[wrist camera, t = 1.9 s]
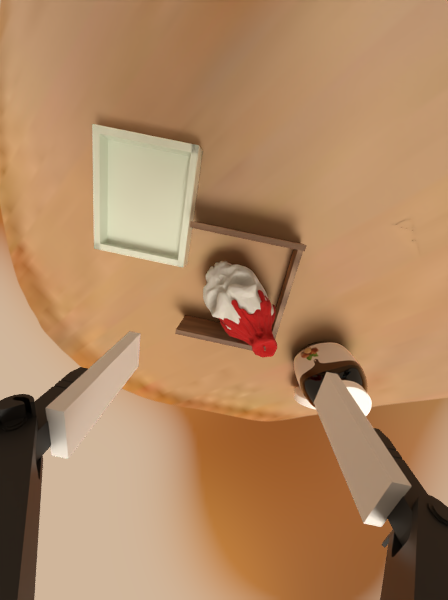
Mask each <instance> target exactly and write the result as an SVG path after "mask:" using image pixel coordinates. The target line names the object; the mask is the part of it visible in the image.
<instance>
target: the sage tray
mask: <svg viewBox="0 0 448 600" xmlns="http://www.w3.org/2000/svg"><path fill="white" fill-rule="evenodd" d="M92 140H93V208H94V249H99V250H103V251H108V252H113V253H117V254H122V255H127V256H131V257H136V258H141V259H146V260H150V261H155V262H160V263H164V264H169V265H174V266H178V267H185V266H186V265H187V263H188V256H189V248H190V241H191V234H192V228H191V227H190V221H193V219H194V212H195V204H196V197H197V190H198V182H199V175H200V168H201V161H202V153H203V152H202V150H201V148H200V146H199V145H195V144H190V143H185V142H180V141H175V140H170V139H165V138H160V137H155V136H150V135H145V134H141V133H136V132H131V131H126V130H121V129H116V128H111V127H106V126H101V125H96V124H92Z"/></svg>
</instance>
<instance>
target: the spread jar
mask: <svg viewBox="0 0 448 600" xmlns="http://www.w3.org/2000/svg"><path fill="white" fill-rule="evenodd" d="M294 371H295V375H296V378H297V381H298V383H299V386H298V387H296V388H295V389H294V399H295V400H296V401H297V402H298V403H299V404H301V405H303V406H305V407H308V408H312V409H316V407H315V405H314V400H315V398H316V396H317V393H318V391H319V389H320V386H321V384H322V381H323V379H324V377H325V374H326V372H330V373H334V374H338V376H339V377H340V379H341V380H342V382H343V383H344V385H345V386H346V388H347V389H348V391H349V392H350V394H351V395H352V397H353V398H354V400H355V401H356V403H357V404H358V406H359V407H360V409H361V410H362V412H363V413H364V415H365V416H366V415H367V414H368V413H369V412H370V409H371V405H372V402H371V399H370V396H369V395H368V394H367V380H366V376H365V374H364V371H363V369H362V368H361V366H360V364H359V363H358V362H357V360H356V359H355V358H354V357H353V355H352V354H351V353H350V352H349V351H348V350H347V349H346V348H345V347H344V346H342V345H340V344H338V343H334V342H316V343H312V344H310V345H308V346H306V347H304V348H303V349H302V350H301V351H299V352H298V354H297V355H296V356H295V358H294Z"/></svg>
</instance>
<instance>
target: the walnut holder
mask: <svg viewBox="0 0 448 600" xmlns="http://www.w3.org/2000/svg"><path fill="white" fill-rule="evenodd" d="M190 227H191V228H196V229H200V230H205V231H210V232H215V233H220V234H224V235H229V236H234V237H239V238H243V239H248V240H253V241H258V242H262V243H267V244H272V245H277V246H281V247H286V248H291V249H294V250H293V254H292V257H291V260H290V264H289V267H288V270H287V274H286V277H285V280H284V283H283V287H282V290H281V293H280V297H279V300H278V303H277V307H276V310H275V311H276V314H275V319H274V322H273V324H272V334H273V336H274V338H276V334H277V331H278V328H279V325H280V322H281V319H282V316H283V312H284V309H285V306H286V303H287V300H288V297H289V294H290V291H291V287H292V284H293V281H294V278H295V275H296V272H297V269H298V265H299V262H300V259H301V256H302V253H303V251H305V249H306V245H304V244H301V243H296V242H291V241H286V240H282V239H277V238H272V237H267V236H262V235H258V234H253V233H248V232H243V231H239V230H234V229H229V228H224V227H219V226H215V225H210V224H205V223H200V222H193V221H190ZM176 334H179V335H183V336H188V337H193V338H197V339H202V340H206V341H211V342H215V343H220V344H225V345H229V346H234V347H238V348H243V349H247V350H252V346H250V345H249V344H248V343H246V342H245V341H243V340H240V339H237V338H234V337H231V336H229V335H228V334H227V333H226V332H225V329H224V328H223V327H222V325H221V323H220V322H215V321H211V320H206V319H202V318H197V317H192V316H188V315H185V317H184V318H183V320H182V321H181V323H180V324H179V326H178V327H177V329H176ZM252 351H253V350H252Z"/></svg>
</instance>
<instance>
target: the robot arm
mask: <svg viewBox="0 0 448 600" xmlns="http://www.w3.org/2000/svg"><path fill="white" fill-rule="evenodd" d="M139 349H140V333H136V332H131V331H129V332H128V333H127V334H126V335H125V336H124V337H123V338H122V339H121V340H120V341H118V342H117V343H116V344H115V345H114V346H113V347H112V348H111V349H110V350H109V351H107V352H106V353H105V354H104V355H103V356H102V357H101V358H100V359H99V360H98V361H96V362H95V363H94V364H93V365H92V366H91V367H90V368H89V369H87V368H82V367H80V368H78V369H76V370H74V371H72V372H70V373H69V374H67V375H66V376H65V377H64V378H63V379H62V380H61V381H59V382H58V383H57V384H55V386H54V387H52V388H51V389H49V390H48V391H47V392H46V393H45V394H43V395H42V396H41V397H40V398H39V399H37V400H36V401H35V402H34V398H33V397H32V396H30V395H26V394H19V395H13V396H10V397H7V398H4V399H3V400H1V401H0V600H34V593H35V577H36V562H37V545H38V530H39V529H38V528H39V514H40V499H41V483H42V468H43V456H42V455H43V454H44V453H45V452H46V450H48V448H49V447H51V454H52V456H57V457H62V458H66V459H68V458H69V457H70V456H71V455H72V453H73V452H74V451H75V449H76V448H77V447H78V445H79V444H80V443H81V441H82V440H83V439H84V438H85V436H86V435H87V434H88V432H89V431H90V430H91V428H92V427H93V426H94V424H95V423H96V422H97V420H98V419H99V418H100V416H101V415H102V414H103V412H104V411H105V410H106V408H107V407H108V406H109V404H110V403H111V402H112V400H113V399H114V398H115V396H116V395H117V394H118V393H119V391H120V390H121V389H122V387H123V386H124V385H125V383H126V382H127V381H128V379H129V378H130V377H131V375H132V374H133V373H134V371H135V370H136V369H137V367H138V366H139ZM314 405H315V407H316V410H317V412H318V415H319V417H320V419H321V422H322V424H323V427H324V429H325V431H326V434H327V436H328V439H329V441H330V443H331V445H332V448H333V451H334V453H335V455H336V457H337V460H338V462H339V465H340V467H341V470H342V472H343V475H344V477H345V480H346V482H347V484H348V487H349V489H350V492H351V494H352V496H353V499H354V501H355V504H356V506H357V508H358V511H359V513H360V516H361V518H362V520H363V523H365V524H370V525H375V526H379V527H382V525H383V524H384V523H385V521H386V520H387V519H388V520H389V522H390V524H391V526H392V528H393V530H392V532H391V533H390V534H389V535H388V536H387V538H386V539H385V540H384V542H383V544H382V545H383V546H384V547H386V546H387V544H388V550H387V557H386V564H385V572H384V578H383V585H382V592H381V598H380V600H448V507H447V506H445V505H444V504H443V503H442V502H441V501H439V500H438V499H436V498H434V497H432V496H430V495H428V494H427V493H426V491H425V490H424V488H423V487H422V485H421V484H420V483H419V481H418V480H417V478H416V477H415V475H414V474H413V473H412V471H411V470H410V468H409V467H408V466H407V464H406V463H405V461H404V460H402V457H401V456H400V454H399V453H398V451H396V448H395V447H394V446H393V444H392V443H391V441H390V440H389V439H388V438H387V437H386V436H385V435H384V434H383V433H382V432H381V431H380V430H379V429H376V428H373V427H372V425H371V424H370V422H369V421H368V419H367V418H366V416H365V415H364V413H363V412H362V410H361V409H360V407H359V406H358V404H357V403H356V401H355V400H354V398H353V397H352V395H351V394H350V392H349V391H348V389H347V388H346V386H345V385H344V383H343V382H342V380H341V379H340V377H339V376H338V374H334V373H330V372H326V374H325V377H324V379H323V381H322V384H321V386H320V389H319V391H318V393H317V396H316V398H315V400H314Z"/></svg>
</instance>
